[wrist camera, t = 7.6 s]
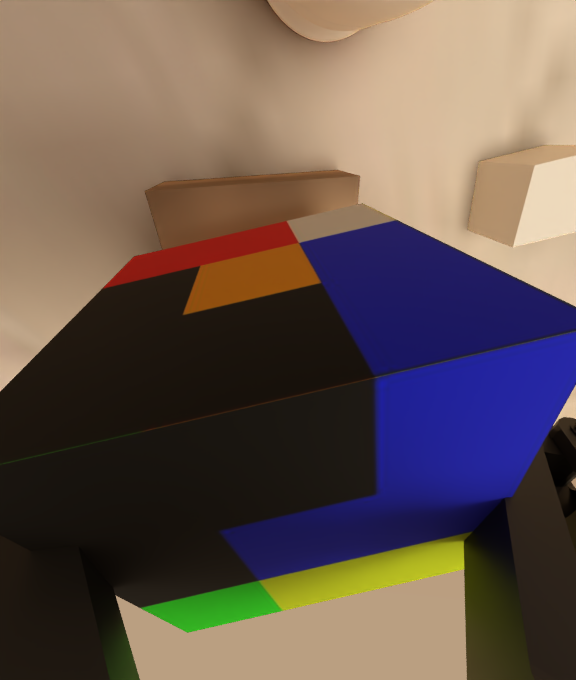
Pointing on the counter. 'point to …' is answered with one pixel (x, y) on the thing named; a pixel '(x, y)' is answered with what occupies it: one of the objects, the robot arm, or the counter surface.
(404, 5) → the jar
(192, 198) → the walnut block
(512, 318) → the puzzle toy
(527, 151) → the beige wooden block
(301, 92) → the counter surface
